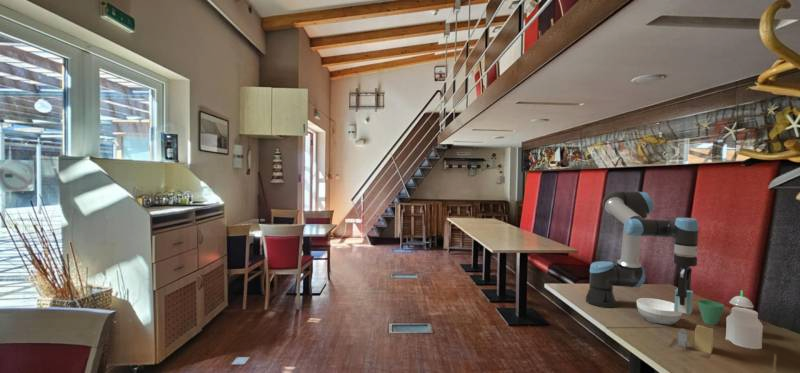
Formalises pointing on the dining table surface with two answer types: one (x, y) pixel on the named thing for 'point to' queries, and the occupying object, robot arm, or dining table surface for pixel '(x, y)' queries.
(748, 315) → the jar
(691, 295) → the teal rectangular block
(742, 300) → the smoothie
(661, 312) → the bowl
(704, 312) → the mug
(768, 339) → the dining table surface
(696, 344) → the pale yellow block
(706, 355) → the board
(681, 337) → the post
